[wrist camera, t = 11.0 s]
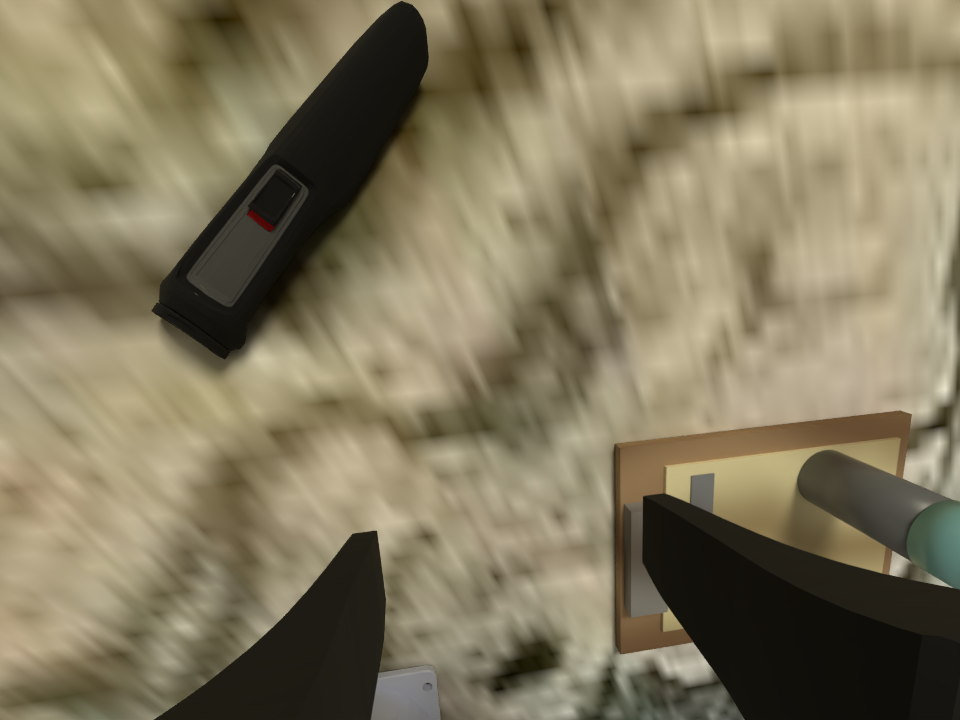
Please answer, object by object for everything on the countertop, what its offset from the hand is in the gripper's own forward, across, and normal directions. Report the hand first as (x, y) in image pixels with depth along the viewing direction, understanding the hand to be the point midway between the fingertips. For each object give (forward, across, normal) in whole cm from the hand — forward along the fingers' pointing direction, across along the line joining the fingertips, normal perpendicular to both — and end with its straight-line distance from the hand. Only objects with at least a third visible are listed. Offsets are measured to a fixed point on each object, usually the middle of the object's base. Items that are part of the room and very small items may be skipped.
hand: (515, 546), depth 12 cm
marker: (+9, -18, +5) cm, 21 cm away
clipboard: (+10, -15, +8) cm, 20 cm away
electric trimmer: (+10, +7, -10) cm, 16 cm away
